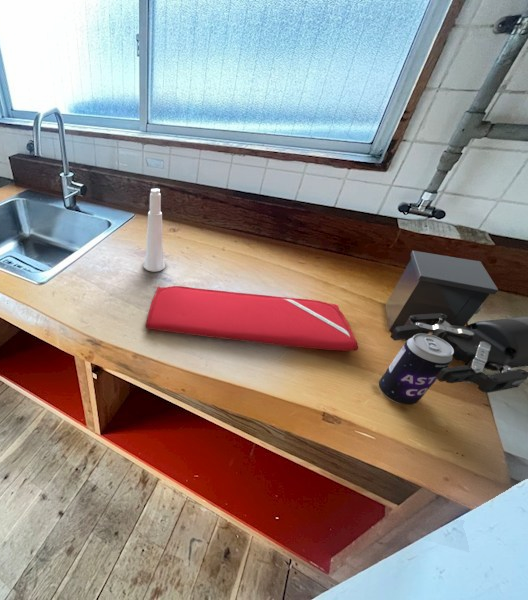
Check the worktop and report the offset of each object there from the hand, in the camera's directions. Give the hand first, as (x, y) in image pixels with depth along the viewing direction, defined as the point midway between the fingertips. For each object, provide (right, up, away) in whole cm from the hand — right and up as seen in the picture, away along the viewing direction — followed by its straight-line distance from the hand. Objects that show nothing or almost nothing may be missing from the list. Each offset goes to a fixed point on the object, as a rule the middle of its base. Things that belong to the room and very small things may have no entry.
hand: (415, 353), depth 49 cm
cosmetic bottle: (-37, +18, +44) cm, 60 cm away
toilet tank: (+18, +3, +20) cm, 27 cm away
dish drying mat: (-19, +3, +23) cm, 30 cm away
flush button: (+23, +6, +15) cm, 28 cm away
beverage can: (+2, -8, +7) cm, 11 cm away
